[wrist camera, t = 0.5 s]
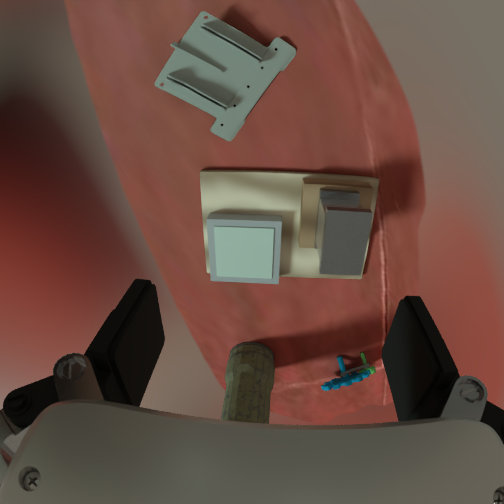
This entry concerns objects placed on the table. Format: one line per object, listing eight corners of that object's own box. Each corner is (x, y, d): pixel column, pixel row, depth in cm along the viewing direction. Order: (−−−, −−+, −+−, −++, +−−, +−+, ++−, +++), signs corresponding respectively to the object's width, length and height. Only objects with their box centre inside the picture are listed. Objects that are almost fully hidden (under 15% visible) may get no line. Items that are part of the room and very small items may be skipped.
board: (201, 169, 42) (199, 171, 41) (377, 177, 40) (379, 179, 39) (208, 269, 50) (206, 272, 49) (360, 275, 48) (361, 279, 47)
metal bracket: (137, 98, 32) (206, -8, 25) (144, 90, 37) (204, -2, 30) (238, 150, 39) (308, 56, 32) (233, 136, 43) (294, 53, 36)
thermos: (285, 368, 61) (280, 538, 30) (228, 372, 63) (202, 533, 32) (279, 338, 56) (270, 531, 26) (216, 343, 58) (179, 523, 28)
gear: (322, 388, 61) (323, 397, 52) (314, 362, 63) (315, 367, 53) (371, 371, 60) (381, 377, 50) (364, 346, 62) (373, 347, 52)
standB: (209, 213, 44) (206, 219, 42) (281, 215, 43) (281, 222, 41) (213, 273, 49) (210, 281, 47) (278, 276, 48) (278, 284, 46)
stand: (302, 177, 40) (304, 183, 38) (368, 182, 40) (373, 188, 38) (298, 238, 45) (299, 247, 43) (359, 241, 44) (363, 250, 42)
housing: (319, 188, 38) (327, 209, 32) (358, 190, 38) (372, 212, 32) (314, 244, 42) (319, 274, 36) (349, 246, 42) (360, 275, 36)
